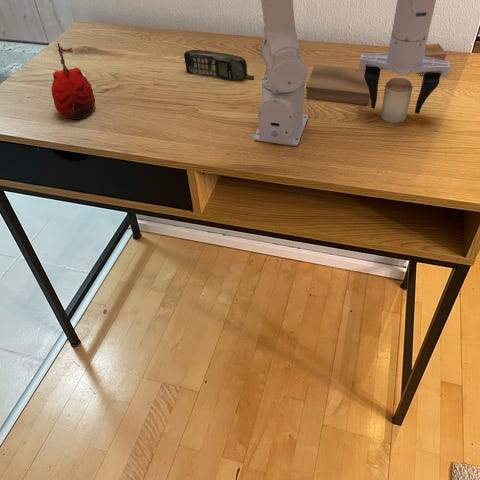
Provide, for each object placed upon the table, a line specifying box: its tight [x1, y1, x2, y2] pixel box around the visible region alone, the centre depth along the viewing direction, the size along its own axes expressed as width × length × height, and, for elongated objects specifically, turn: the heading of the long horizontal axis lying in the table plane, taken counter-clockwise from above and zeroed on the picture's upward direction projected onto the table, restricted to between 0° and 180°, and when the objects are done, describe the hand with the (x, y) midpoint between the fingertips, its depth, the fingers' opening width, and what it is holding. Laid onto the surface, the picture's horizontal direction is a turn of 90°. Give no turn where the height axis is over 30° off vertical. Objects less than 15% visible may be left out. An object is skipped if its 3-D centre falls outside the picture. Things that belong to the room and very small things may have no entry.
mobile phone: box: [183, 49, 255, 81], centre depth 105 cm, size 5×3×15 cm
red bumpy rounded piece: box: [50, 42, 96, 120], centre depth 93 cm, size 8×7×15 cm
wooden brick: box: [305, 64, 370, 106], centre depth 99 cm, size 9×12×2 cm
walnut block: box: [418, 43, 447, 76], centre depth 103 cm, size 4×4×4 cm
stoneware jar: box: [380, 77, 414, 124], centre depth 91 cm, size 5×5×6 cm
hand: (395, 108), depth 92 cm, fingers open, 7 cm apart
